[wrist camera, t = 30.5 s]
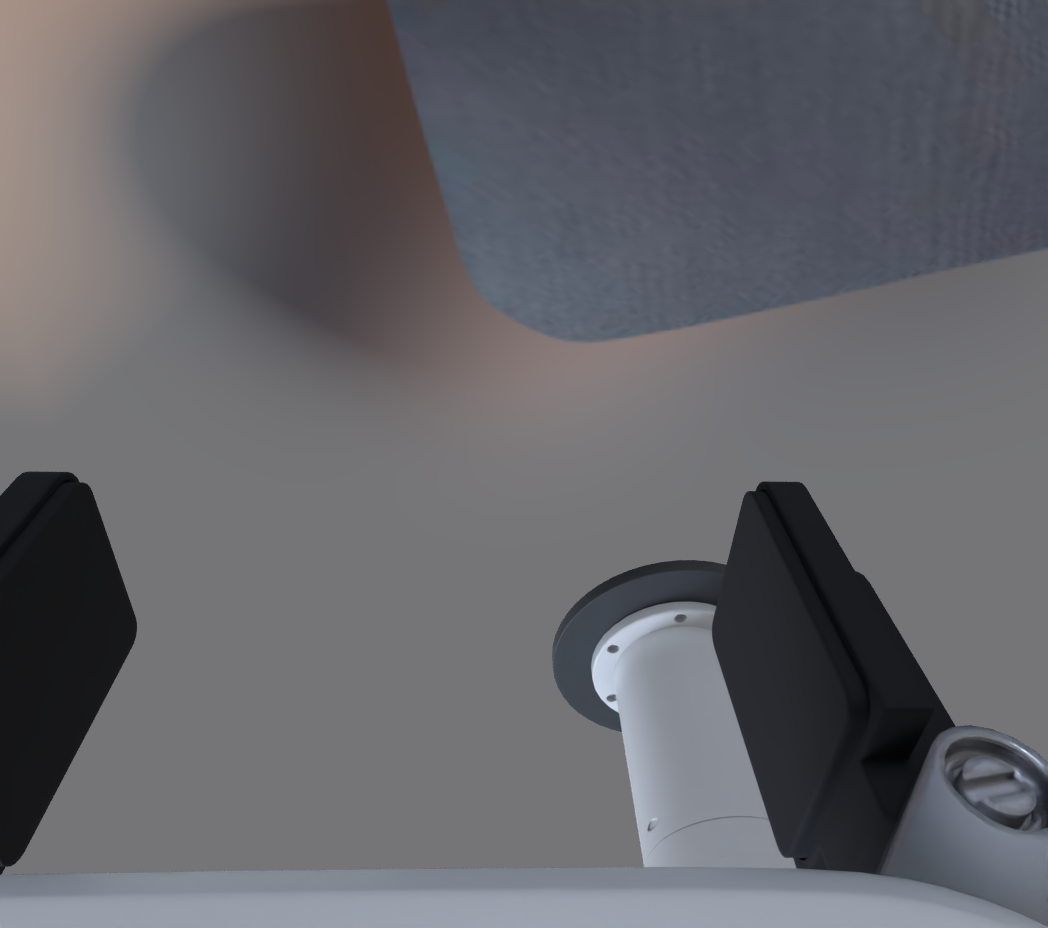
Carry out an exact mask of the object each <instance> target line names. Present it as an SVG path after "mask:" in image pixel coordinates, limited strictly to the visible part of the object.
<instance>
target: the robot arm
mask: <svg viewBox="0 0 1048 928" xmlns="http://www.w3.org/2000/svg"><path fill="white" fill-rule="evenodd" d="M136 632H137V622H136V617H135V614H134V611H133V609H132V606H131V603H130V600H129V597H128V594H127V591H126V588H125V585H124V582H123V579H122V577H121V574H120V571H119V568H118V565H117V562H116V560H115V556H114V553H113V551H112V548H111V545H110V542H109V539H108V536H107V533H106V531H105V528H104V524H103V521H102V519H101V516H100V513H99V510H98V507H97V504H96V501H95V499H94V495H93V492H92V490H91V488H90V487H89V486H88V485H87V484H85V483H80V482H79V480H78V478H77V477H76V476H74V474H72V473H69V472H25V473H22V474H21V475H20V476H18V477H17V478H16V479H15V480H14V481H13V483H12V484H11V485H10V486H9V487H8V488H7V489H6V490H5V491H4V492H3V493H2V495H1V496H0V928H1048V762H1047V761H1046V760H1045V759H1044V758H1043V757H1042V756H1040V755H1039V754H1038V753H1037V752H1036V751H1035V750H1033V749H1031V748H1030V747H1028V746H1027V745H1025V744H1023V743H1021V742H1020V741H1018V740H1017V739H1015V738H1013V737H1011V736H1008V735H1006V734H1003V733H1000V732H998V731H995V730H993V729H988V728H983V727H977V726H972V725H969V726H957V727H956V726H955V725H954V723H953V721H952V720H951V718H950V716H949V714H948V713H947V711H946V710H945V708H944V706H943V705H942V703H941V701H940V700H939V698H938V696H937V694H936V693H935V691H934V690H933V688H932V686H931V685H930V683H929V681H928V679H927V678H926V676H925V674H924V673H923V671H922V669H921V668H920V666H919V664H918V663H917V661H916V659H915V658H914V657H913V654H912V653H911V651H910V650H909V648H908V646H907V644H906V643H905V641H904V639H903V638H902V636H901V634H900V633H899V631H898V629H897V628H896V626H895V624H894V623H893V621H892V619H891V618H890V616H889V614H888V613H887V611H886V609H885V608H884V606H883V604H882V603H881V601H880V599H879V598H878V596H877V594H876V593H875V591H874V589H873V588H872V586H871V584H870V583H869V582H868V580H867V579H866V578H865V576H864V575H862V574H860V573H858V572H856V571H855V570H854V569H853V567H852V565H851V564H850V562H849V561H848V558H847V557H846V555H845V553H844V552H843V550H842V548H841V547H840V545H839V543H838V542H837V540H836V538H835V536H834V535H833V533H832V531H831V529H830V528H829V526H828V524H827V523H826V521H825V519H824V517H823V516H822V514H821V512H820V511H819V509H818V507H817V506H816V504H815V502H814V501H813V499H812V497H811V495H810V494H809V492H808V490H807V488H806V487H805V486H804V485H803V484H802V483H800V482H761V483H760V484H759V485H758V487H757V489H756V491H749V492H747V493H746V494H745V496H744V498H743V502H742V506H741V510H740V514H739V518H738V522H737V526H736V530H735V534H734V538H733V542H732V546H731V550H730V554H729V558H728V562H727V566H726V570H725V574H724V578H723V582H722V586H721V590H720V594H719V598H718V602H717V606H714V605H711V604H707V603H700V602H691V601H690V602H670V603H664V604H658V605H655V606H651V607H648V608H645V609H642V610H640V611H637V612H635V613H633V614H631V615H629V616H627V617H625V618H624V619H622V620H621V621H619V622H618V623H616V624H615V625H614V626H613V627H612V628H611V629H610V630H608V631H607V632H606V633H605V634H604V636H603V637H602V638H601V640H600V641H599V643H598V644H597V646H596V648H595V651H594V653H593V656H592V663H591V670H592V680H593V683H594V687H595V690H596V692H597V693H598V695H599V696H600V698H601V699H602V700H603V701H604V702H605V703H606V704H607V705H608V706H609V707H610V708H612V709H613V710H615V711H617V712H618V713H619V716H620V722H621V729H622V734H623V741H624V747H625V753H626V759H627V765H628V771H629V777H630V783H631V789H632V795H633V801H634V807H635V814H636V820H637V826H638V832H639V838H640V844H641V850H642V856H643V863H644V867H598V868H597V867H594V868H593V867H591V868H590V867H587V868H586V867H585V868H443V869H442V868H440V869H355V870H354V869H348V870H347V869H346V870H271V871H270V870H266V871H195V872H194V871H192V872H133V873H132V872H131V873H75V874H74V873H72V874H71V873H70V874H14V875H13V874H12V875H1V874H2V872H3V870H4V869H5V867H6V866H12V865H13V864H15V863H16V862H17V861H18V860H19V859H20V858H21V856H22V855H23V853H24V852H25V850H26V848H27V846H28V844H29V842H30V840H31V838H32V836H33V834H34V833H35V831H36V829H37V827H38V825H39V823H40V821H41V819H42V817H43V815H44V814H45V812H46V810H47V808H48V806H49V804H50V802H51V800H52V798H53V796H54V795H55V793H56V791H57V789H58V787H59V785H60V783H61V781H62V779H63V777H64V775H65V774H66V772H67V770H68V768H69V766H70V764H71V762H72V760H73V758H74V756H75V755H76V753H77V751H78V749H79V747H80V745H81V743H82V741H83V739H84V737H85V735H86V734H87V732H88V730H89V728H90V726H91V724H92V722H93V720H94V718H95V716H96V715H97V713H98V711H99V709H100V707H101V705H102V703H103V701H104V699H105V697H106V696H107V694H108V692H109V690H110V688H111V686H112V684H113V682H114V680H115V678H116V677H117V675H118V673H119V671H120V669H121V667H122V665H123V663H124V661H125V659H126V657H127V656H128V654H129V652H130V650H131V648H132V646H133V644H134V641H135V638H136Z"/></svg>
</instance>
